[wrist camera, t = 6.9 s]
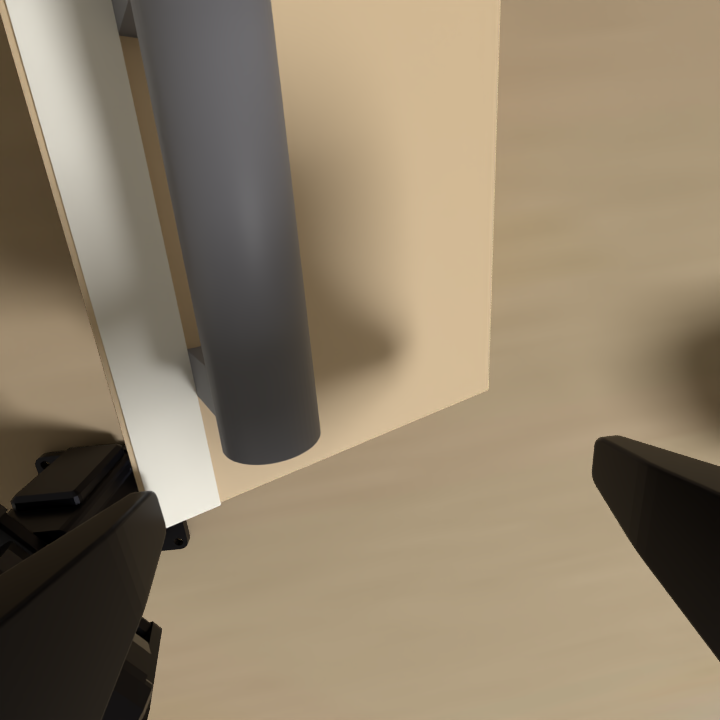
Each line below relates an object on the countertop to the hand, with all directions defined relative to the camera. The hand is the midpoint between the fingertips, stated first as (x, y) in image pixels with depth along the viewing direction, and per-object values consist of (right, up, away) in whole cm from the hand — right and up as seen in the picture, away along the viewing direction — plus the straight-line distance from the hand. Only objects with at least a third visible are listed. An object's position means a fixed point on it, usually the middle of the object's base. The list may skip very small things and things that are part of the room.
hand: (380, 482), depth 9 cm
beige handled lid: (-1, +6, +2) cm, 7 cm away
